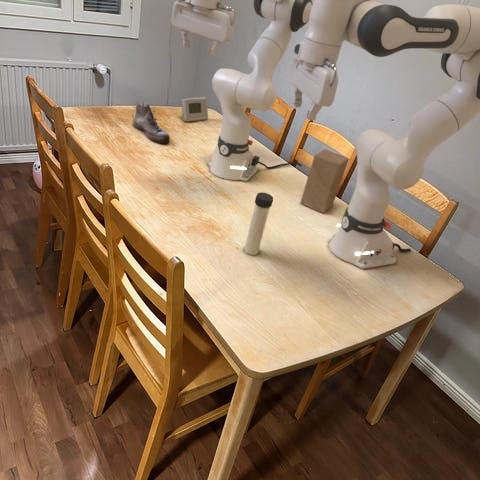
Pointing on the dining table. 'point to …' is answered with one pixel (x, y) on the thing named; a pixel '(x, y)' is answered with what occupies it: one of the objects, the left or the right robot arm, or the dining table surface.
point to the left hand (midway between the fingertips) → (198, 51)
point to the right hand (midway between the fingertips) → (303, 112)
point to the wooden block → (324, 180)
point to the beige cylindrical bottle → (256, 230)
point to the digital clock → (194, 109)
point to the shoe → (149, 124)
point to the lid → (264, 200)
